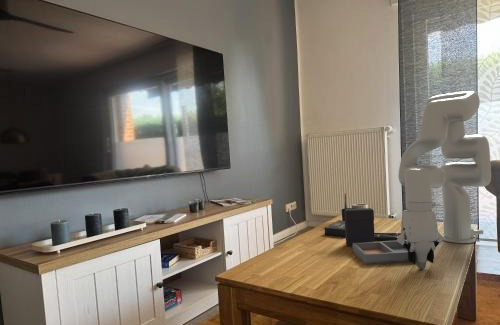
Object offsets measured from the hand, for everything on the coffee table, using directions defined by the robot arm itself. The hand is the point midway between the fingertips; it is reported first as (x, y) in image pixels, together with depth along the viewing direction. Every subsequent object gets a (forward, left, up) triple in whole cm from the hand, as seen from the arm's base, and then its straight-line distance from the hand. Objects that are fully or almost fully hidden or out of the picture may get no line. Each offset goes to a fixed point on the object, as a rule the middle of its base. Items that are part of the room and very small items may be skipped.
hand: (421, 261), depth 108 cm
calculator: (+10, -29, -3) cm, 31 cm away
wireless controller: (+10, -52, -3) cm, 53 cm away
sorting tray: (+5, -14, -3) cm, 15 cm away
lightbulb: (0, 0, -3) cm, 3 cm away
